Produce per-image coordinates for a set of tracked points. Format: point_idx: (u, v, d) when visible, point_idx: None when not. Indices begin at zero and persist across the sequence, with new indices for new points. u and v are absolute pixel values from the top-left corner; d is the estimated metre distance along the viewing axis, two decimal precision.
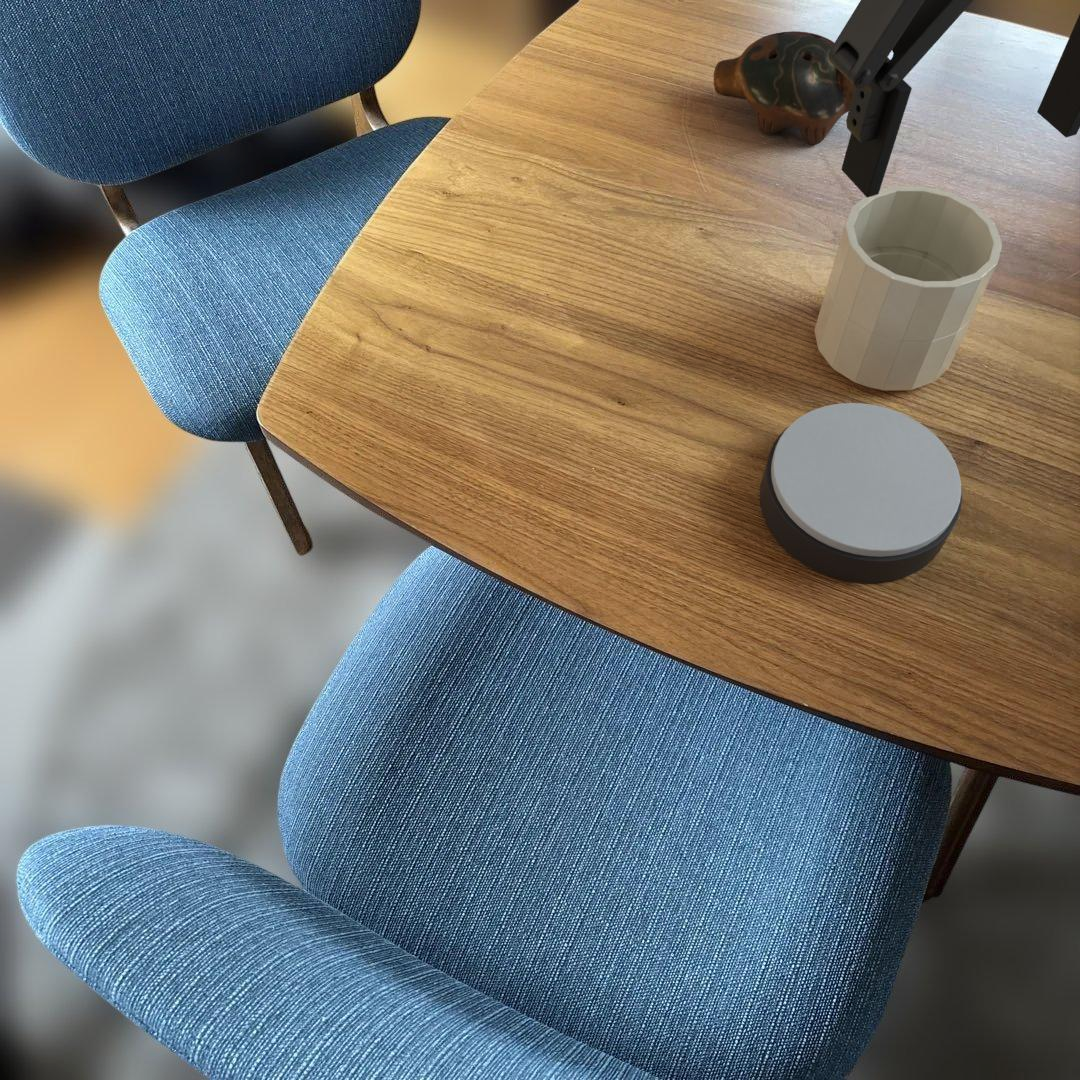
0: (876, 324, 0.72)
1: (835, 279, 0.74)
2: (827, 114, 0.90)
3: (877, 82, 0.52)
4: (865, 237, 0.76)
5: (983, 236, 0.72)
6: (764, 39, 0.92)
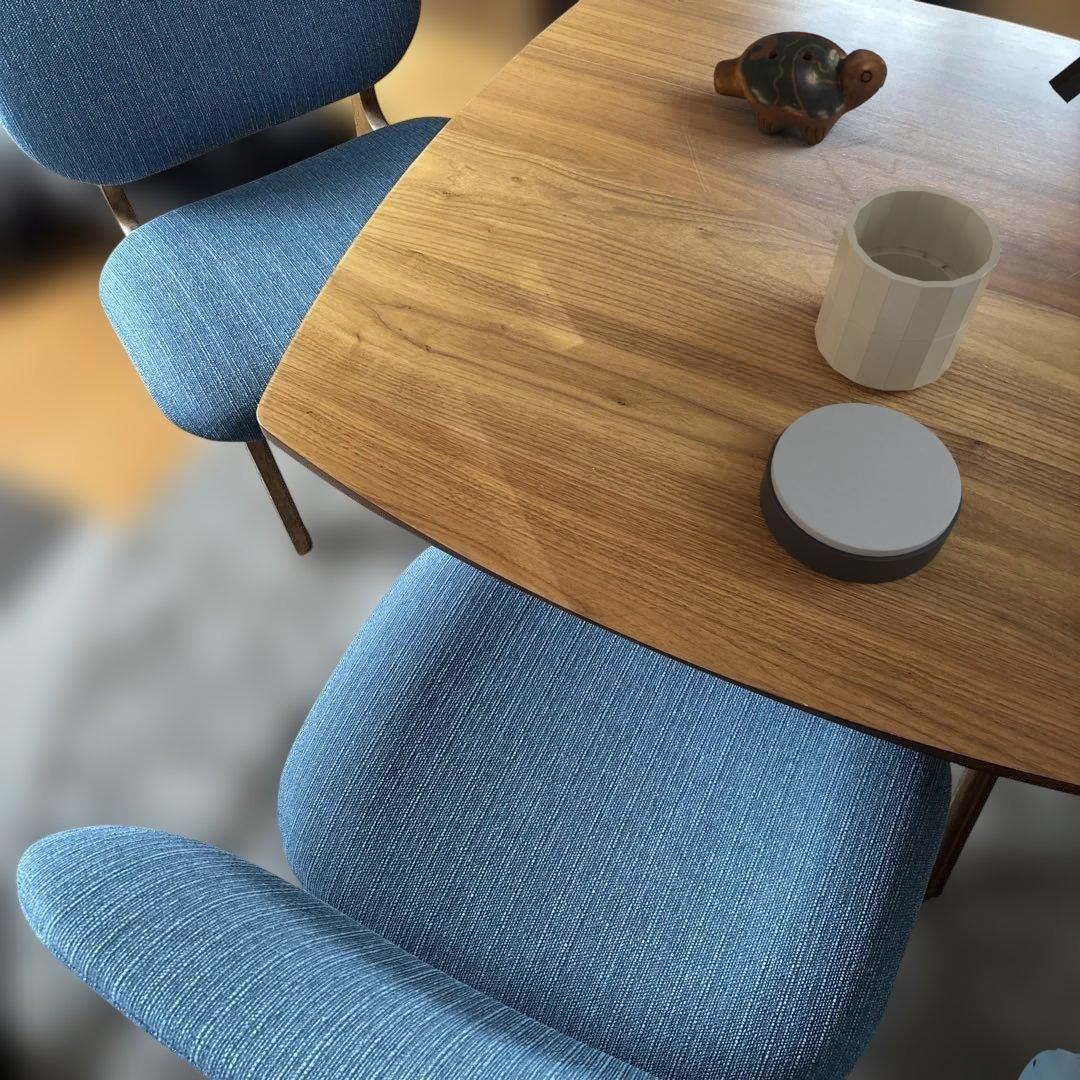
0: (876, 324, 0.72)
1: (835, 279, 0.74)
2: (827, 114, 0.90)
3: None
4: (865, 237, 0.76)
5: (983, 236, 0.72)
6: (764, 39, 0.92)
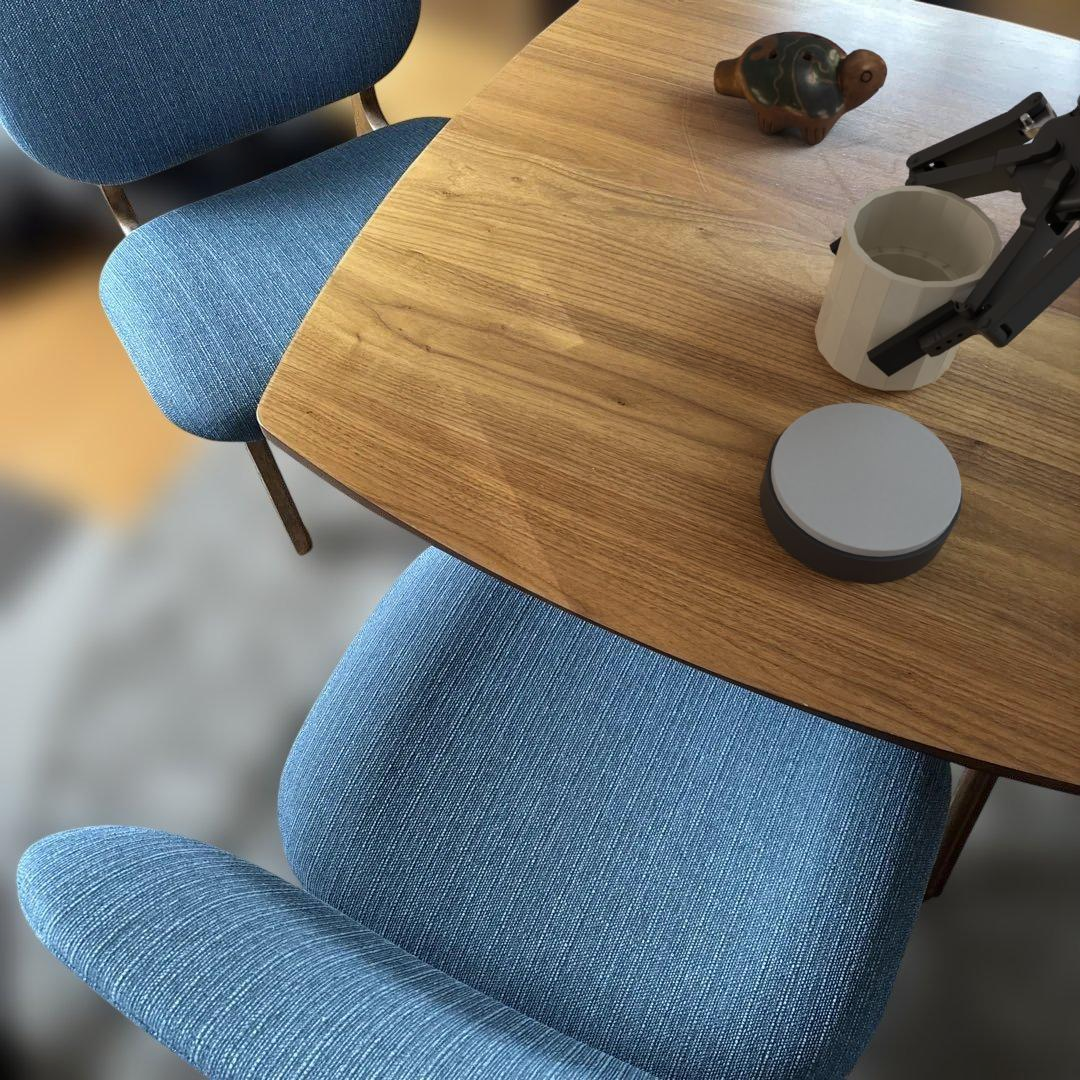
0: (876, 324, 0.72)
1: (835, 279, 0.74)
2: (827, 114, 0.90)
3: None
4: (865, 237, 0.76)
5: (983, 236, 0.72)
6: (764, 39, 0.92)
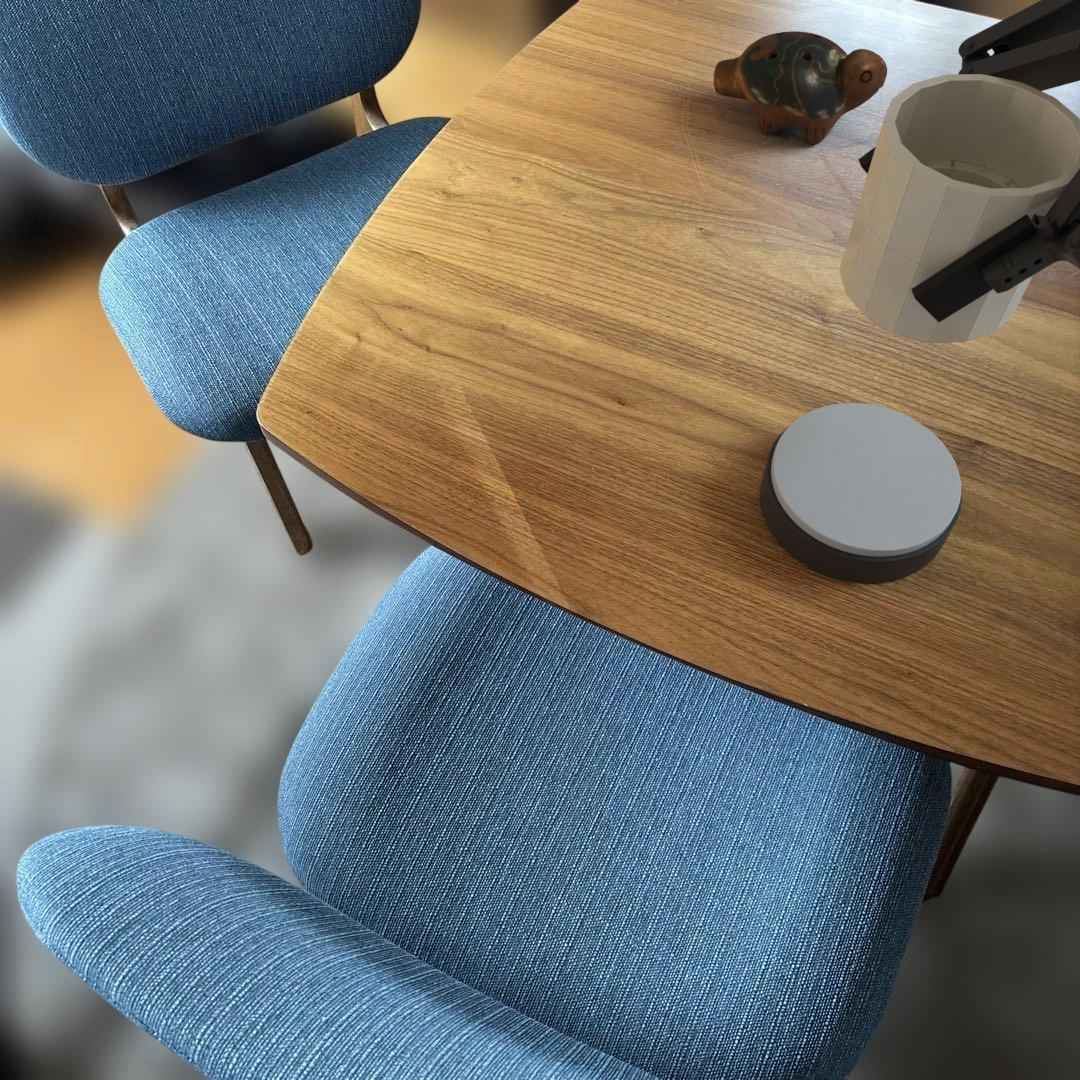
0: (924, 252, 0.55)
1: (869, 195, 0.57)
2: (827, 114, 0.90)
3: None
4: (907, 144, 0.59)
5: (1063, 136, 0.55)
6: (764, 39, 0.92)
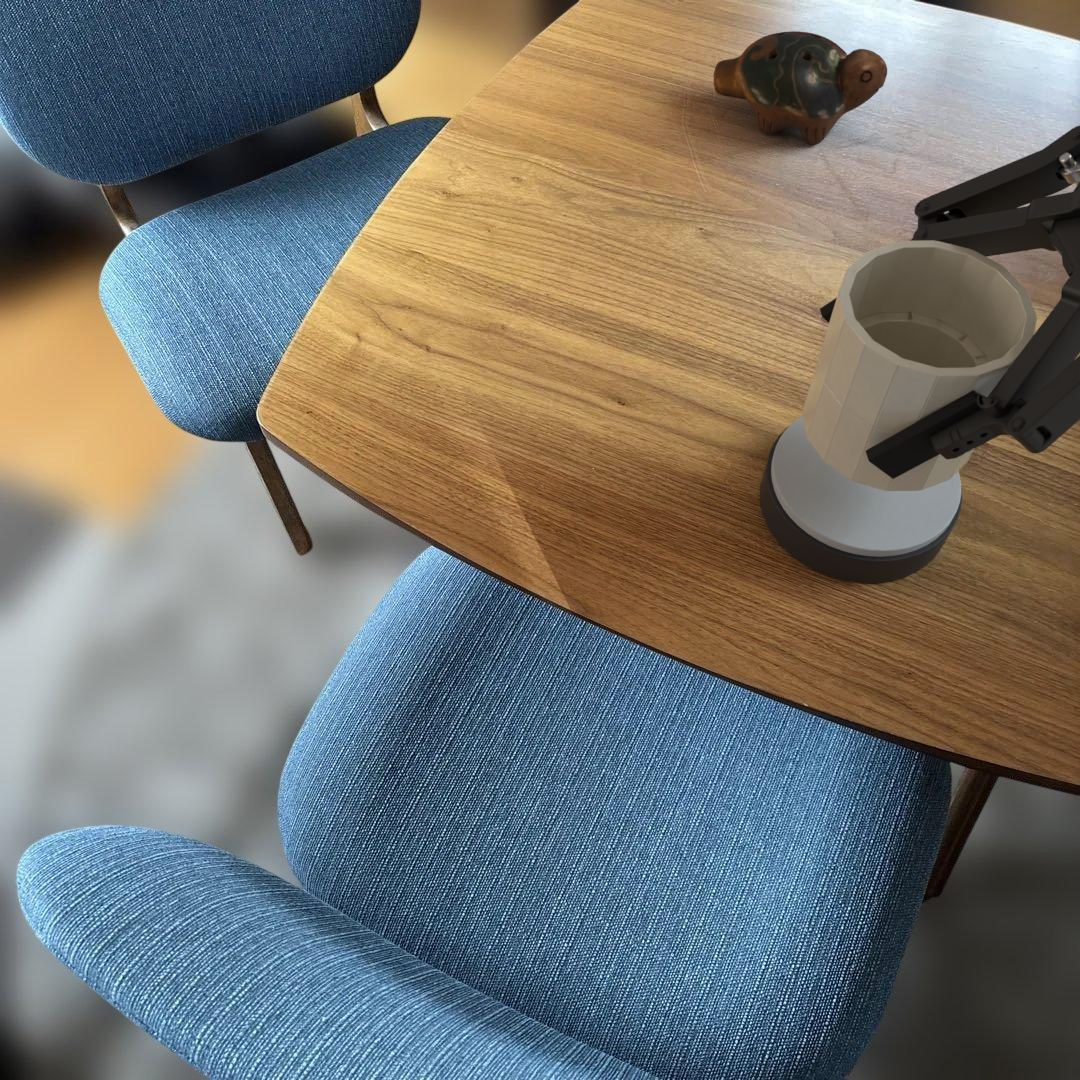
0: (877, 416, 0.57)
1: (827, 357, 0.59)
2: (827, 114, 0.90)
3: None
4: (864, 302, 0.62)
5: (1012, 305, 0.57)
6: (764, 39, 0.92)
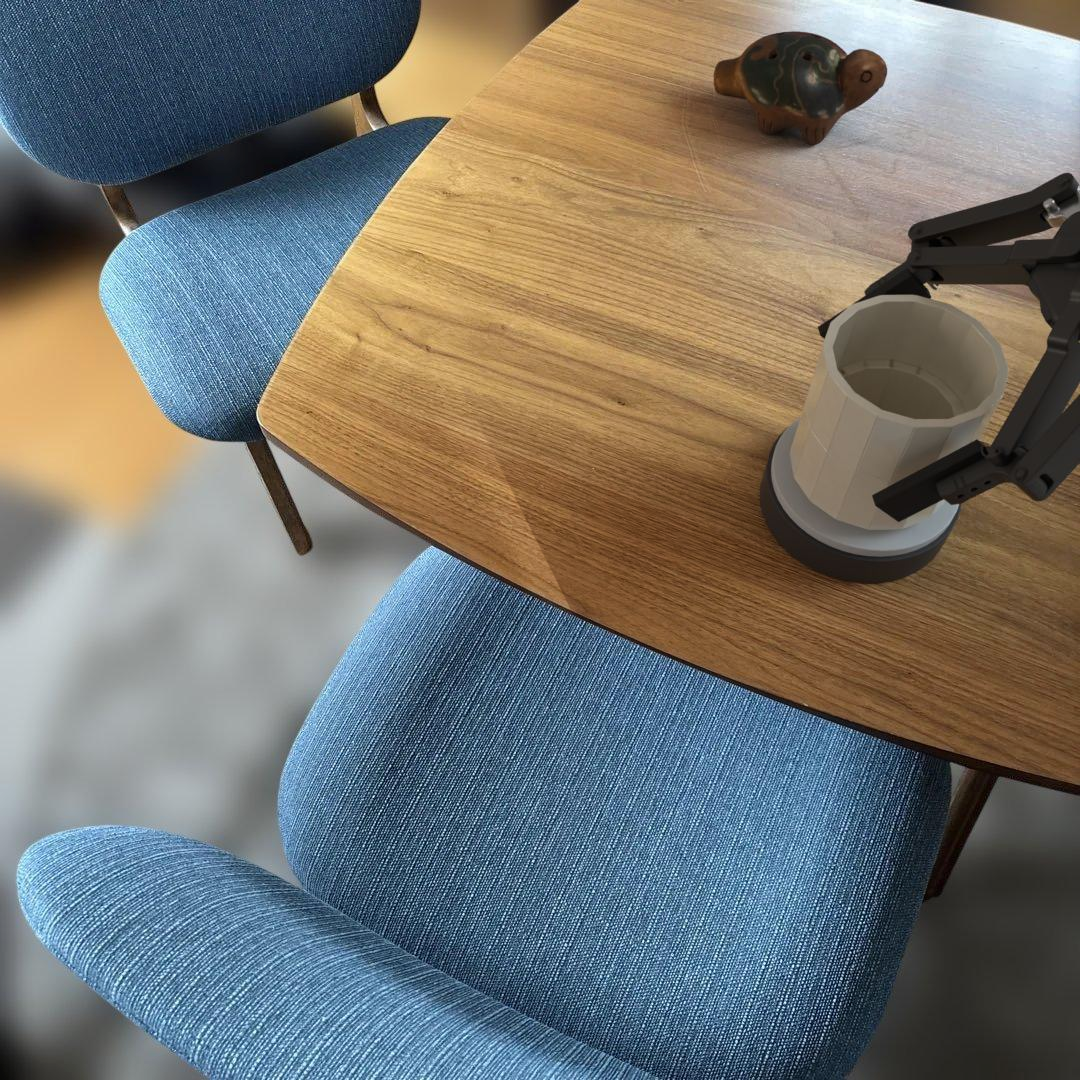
0: (859, 462, 0.61)
1: (812, 404, 0.63)
2: (827, 114, 0.90)
3: None
4: (848, 351, 0.65)
5: (986, 357, 0.61)
6: (764, 39, 0.92)
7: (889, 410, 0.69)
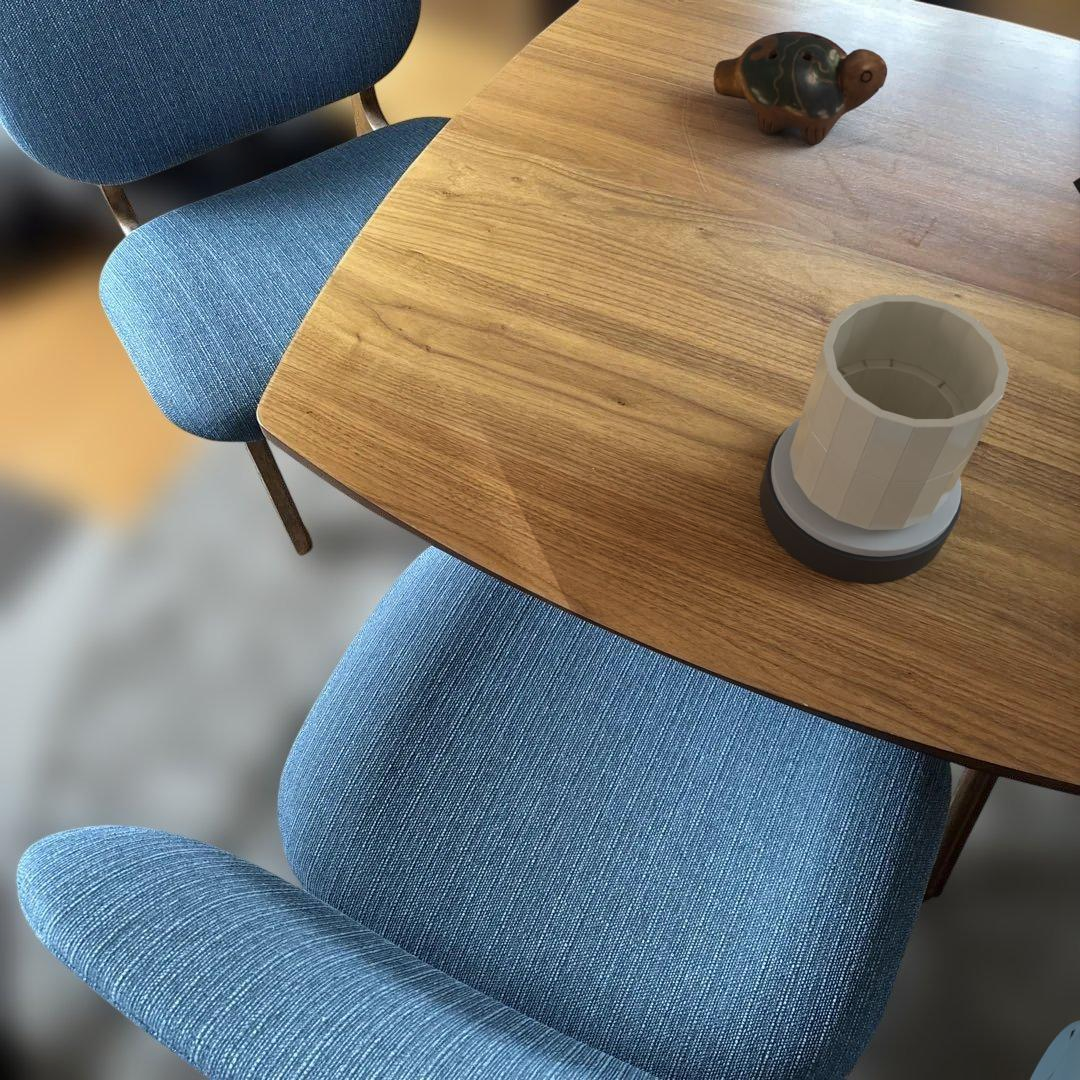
0: (859, 462, 0.61)
1: (812, 404, 0.63)
2: (827, 114, 0.90)
3: None
4: (848, 351, 0.65)
5: (986, 357, 0.61)
6: (764, 39, 0.92)
7: (889, 410, 0.69)
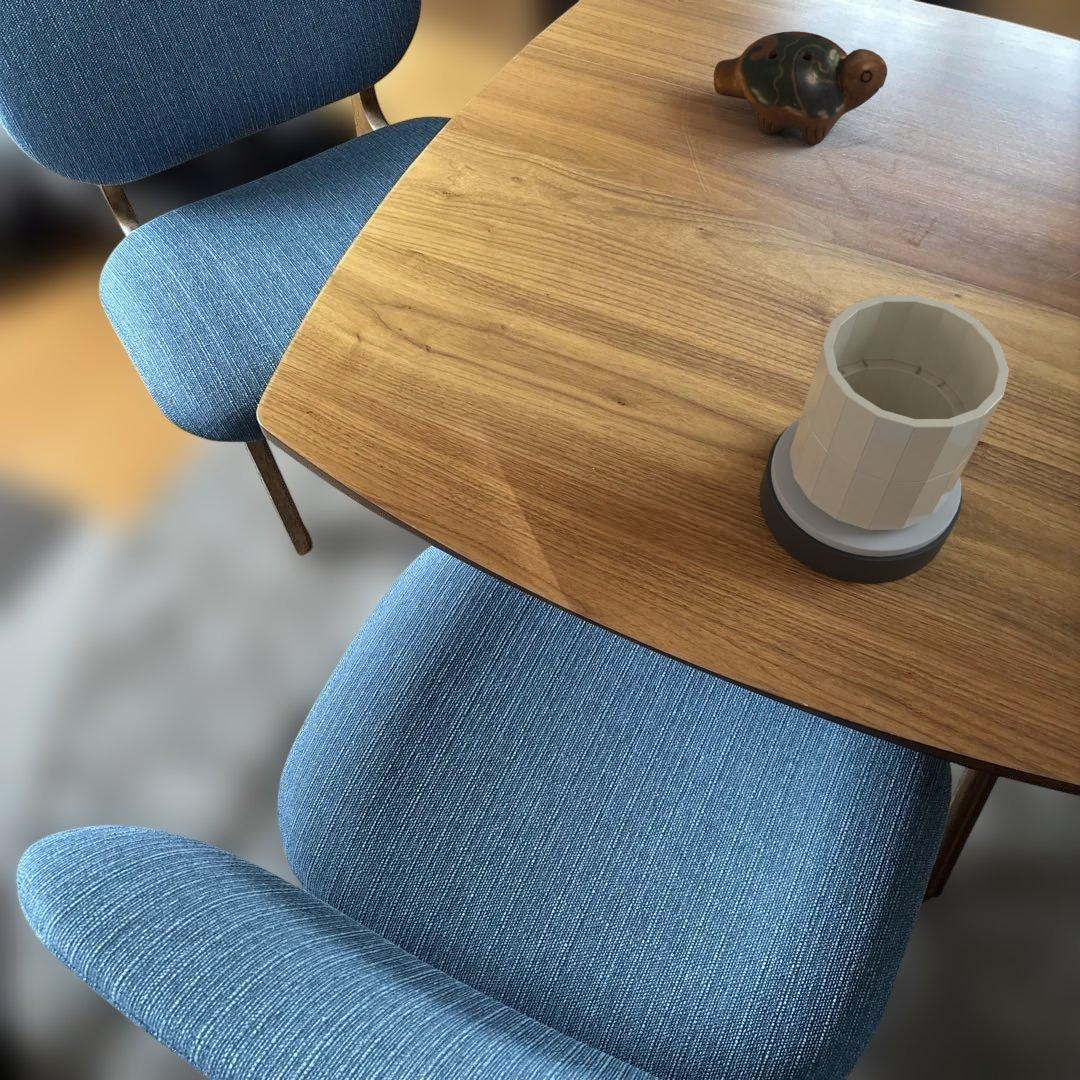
0: (859, 462, 0.61)
1: (812, 404, 0.63)
2: (827, 114, 0.90)
3: None
4: (848, 351, 0.65)
5: (986, 357, 0.61)
6: (764, 39, 0.92)
7: (889, 410, 0.69)
